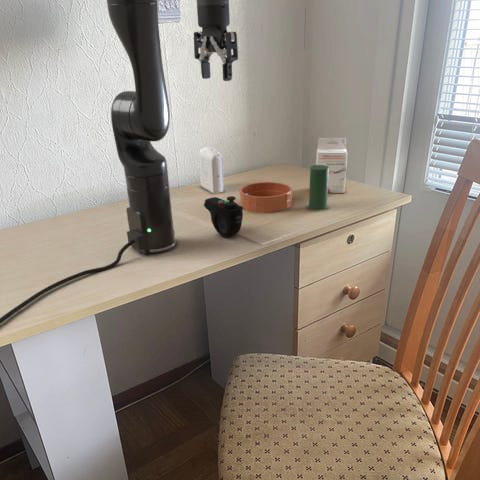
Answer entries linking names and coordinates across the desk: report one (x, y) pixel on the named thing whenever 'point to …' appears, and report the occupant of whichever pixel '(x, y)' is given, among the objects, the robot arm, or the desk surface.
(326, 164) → the ink cartridge box
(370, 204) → the desk surface
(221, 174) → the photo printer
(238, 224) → the controller
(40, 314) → the desk surface
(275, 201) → the bowl
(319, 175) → the green cylinder
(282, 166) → the desk surface
